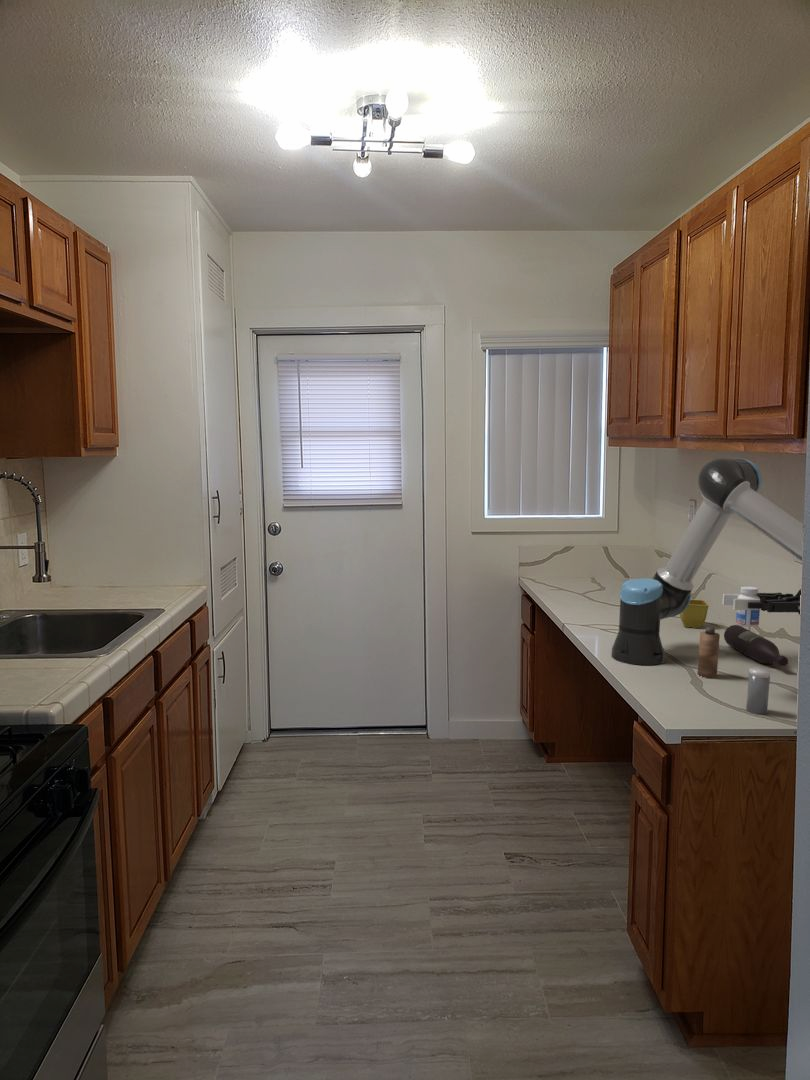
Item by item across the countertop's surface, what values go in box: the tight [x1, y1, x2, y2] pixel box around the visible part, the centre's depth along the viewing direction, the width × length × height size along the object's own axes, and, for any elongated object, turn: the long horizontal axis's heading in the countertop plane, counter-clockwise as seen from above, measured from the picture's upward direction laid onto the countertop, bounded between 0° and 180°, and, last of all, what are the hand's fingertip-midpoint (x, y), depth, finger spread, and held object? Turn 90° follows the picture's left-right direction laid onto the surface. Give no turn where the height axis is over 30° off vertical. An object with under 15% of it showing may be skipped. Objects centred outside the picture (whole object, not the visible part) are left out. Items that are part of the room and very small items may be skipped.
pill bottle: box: [735, 586, 761, 628], centre depth 195 cm, size 6×5×10 cm
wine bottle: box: [723, 624, 789, 667], centre depth 229 cm, size 7×7×30 cm
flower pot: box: [679, 599, 709, 629], centre depth 269 cm, size 9×9×9 cm
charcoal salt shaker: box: [745, 666, 771, 715], centre depth 183 cm, size 5×5×10 cm
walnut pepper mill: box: [697, 626, 720, 679], centre depth 211 cm, size 5×5×14 cm
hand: (728, 601), depth 194 cm, fingers closed on pill bottle, 5 cm apart
